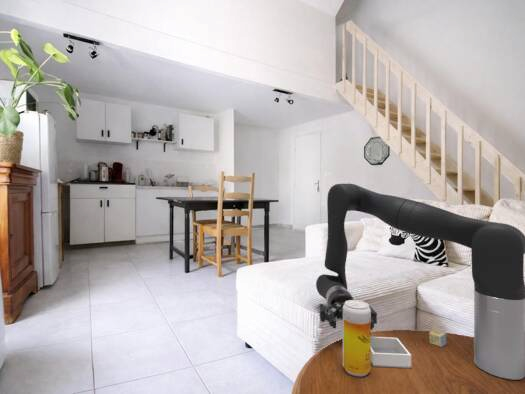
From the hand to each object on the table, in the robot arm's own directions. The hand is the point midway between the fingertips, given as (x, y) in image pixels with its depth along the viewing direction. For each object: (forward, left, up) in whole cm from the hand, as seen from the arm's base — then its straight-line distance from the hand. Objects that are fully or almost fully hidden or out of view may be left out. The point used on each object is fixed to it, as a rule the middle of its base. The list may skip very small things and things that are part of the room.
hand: (352, 325), depth 71 cm
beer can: (0, +4, -9) cm, 9 cm away
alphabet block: (-25, -11, -9) cm, 29 cm away
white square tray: (-8, -2, -9) cm, 12 cm away
